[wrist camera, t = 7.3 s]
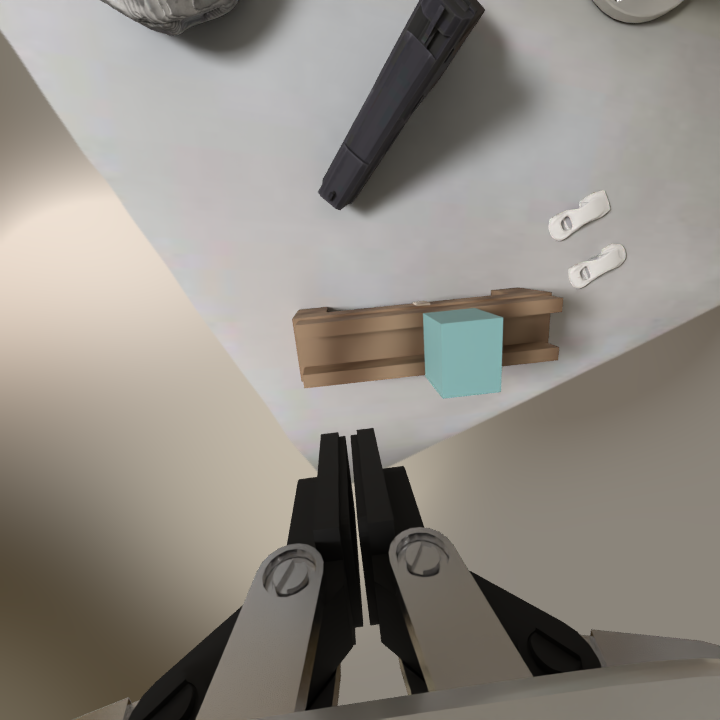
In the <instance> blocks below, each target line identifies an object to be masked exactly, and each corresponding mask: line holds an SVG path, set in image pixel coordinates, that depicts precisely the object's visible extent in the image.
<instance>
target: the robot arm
mask: <svg viewBox="0 0 720 720" xmlns="http://www.w3.org/2000/svg"><path fill="white" fill-rule="evenodd" d="M593 1H594V3H595V4H596V5H597V6H598V7H599V8H600V9H601V10H602V11H603V12H604V13H606V14H607V15H609V16H611V17H612V18H614V19H617V20H620V21H623V22H628V23H641V22H646V21H651V20H653V19H656V18H658V17H660V16H663V15H664V14H666V13H667V12H669V11H670V10H672V9H673V8H675V7H676V6H678V5H679V4H680V3H681V2H682V1H684V0H593ZM351 447H352V459H353V472H354V484H355V496H356V508H357V520H358V530H359V538H360V547H361V554H362V562H363V571H364V578H365V586H366V595H367V602H368V611H369V619H370V625H376V624H379V626H380V634H381V642H382V643H383V644H384V645H385V646H387V647H388V648H389V649H390V650H391V651H392V652H394V653H395V654H396V655H397V656H398V657H399V663H400V669H401V672H402V676H403V679H404V683H405V686H406V690H407V693H408V695H407V696H401V697H394V698H387V699H381V700H374V701H367V702H361V703H355V704H348V705H341V706H338V698H339V689H340V681H341V662H342V660H343V659H344V658H345V656H346V655H347V654H348V653H349V651H350V650H351V649H352V647H353V645H355V644H356V639H355V628H356V627H363V615H362V601H361V588H360V575H359V560H358V547H357V533H356V521H355V510H354V501H353V493H352V485H351V477H350V469H349V461H348V453H347V445H346V438H345V436H341V437H339V434H338V432H337V433H328V434H321V441H320V452H319V464H318V475H317V477H313V478H306V479H299V480H298V484H297V489H296V495H295V501H294V507H293V513H292V519H291V524H290V530H289V536H288V542H287V546H284V547H281V548H279V549H277V550H276V551H274V552H273V553H271V554H270V555H269V556H268V557H267V558H266V559H265V560H264V561H263V562H262V564H261V565H260V567H259V569H258V571H257V573H256V575H255V578H254V580H253V582H252V585H251V587H250V590H249V592H248V594H247V597H246V599H245V602H244V604H243V605H242V606H241V607H240V608H239V609H238V610H237V611H236V612H235V613H234V614H233V615H231V616H230V617H229V618H228V619H227V620H226V621H224V622H223V623H222V624H221V625H220V626H219V627H218V628H216V629H215V630H214V631H213V632H212V633H211V634H210V635H209V636H208V637H206V638H205V639H204V640H203V641H202V642H201V643H199V645H197V646H196V647H195V648H194V649H193V650H192V651H190V652H189V653H188V654H187V655H186V656H185V657H184V658H183V659H181V660H180V661H179V662H178V663H177V664H176V665H175V666H173V667H172V668H171V669H170V670H169V671H168V672H167V673H166V674H165V675H163V676H162V677H161V678H160V679H159V680H158V681H156V682H155V684H154V685H153V686H152V687H151V688H150V689H149V690H148V691H147V692H146V693H145V694H144V695H143V696H142V698H141V699H140V700H139V701H137V702H134V703H131V701H130V699H129V698H126V699H124V700H121V701H119V702H116V703H113V704H111V705H108V706H106V707H103V708H101V709H98V710H96V711H93V712H91V713H88V714H86V715H83V716H80V717H78V718H76V719H73V720H720V646H719V645H716V644H712V643H708V642H704V641H699V640H689V639H680V638H670V637H659V636H650V635H641V634H631V633H621V632H611V631H601V630H592V629H591V633H590V636H588V635H580V634H579V633H578V632H577V631H575V630H574V629H572V628H571V627H569V626H568V625H566V624H565V623H564V622H562V621H560V620H558V619H557V618H555V617H552V616H551V615H549V614H547V613H546V612H544V611H542V610H540V609H538V608H536V607H534V606H533V605H531V604H529V603H527V602H526V601H524V600H522V599H520V598H518V597H516V596H515V595H513V594H511V593H509V592H507V591H506V590H504V589H502V588H500V587H498V586H497V585H495V584H492V583H491V582H489V581H487V580H485V579H484V578H482V577H480V576H478V575H477V574H475V573H473V572H471V571H469V570H468V568H467V567H466V565H465V564H464V562H463V560H462V558H461V557H460V555H459V553H458V552H457V550H456V548H455V547H454V545H453V544H452V543H451V542H450V540H449V539H448V538H447V537H446V536H444V535H443V534H441V533H440V532H438V531H436V530H433V529H430V528H424V526H423V522H422V519H421V516H420V513H419V510H418V507H417V504H416V501H415V498H414V495H413V492H412V489H411V485H410V482H409V479H408V477H407V474H406V470H405V468H404V466H400V467H392V468H384V469H382V465H381V460H380V456H379V451H378V447H377V442H376V437H375V433H374V429H373V428H369V429H361V430H357V435H351Z"/></svg>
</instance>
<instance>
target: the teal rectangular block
mask: <svg viewBox="0 0 720 720" xmlns="http://www.w3.org/2000/svg"><path fill="white" fill-rule="evenodd" d="M423 327H424V354H425V377H426V378H427V379H428V380H429V382H430V383H431V384H432V386H433V387H434V388H435V389H436V391H437V392H438V393H439V394H440V396H441V397H442V398H443V399H444V398H453V397H461V396H470V395H479V394H488V393H496V392H501V373H502V341H503V317H500V316H497V315H494V314H491V313H488V312H485V311H482V310H480V309H477V308H469V309H459V310H449V311H440V312H430V313H423Z"/></svg>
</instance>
